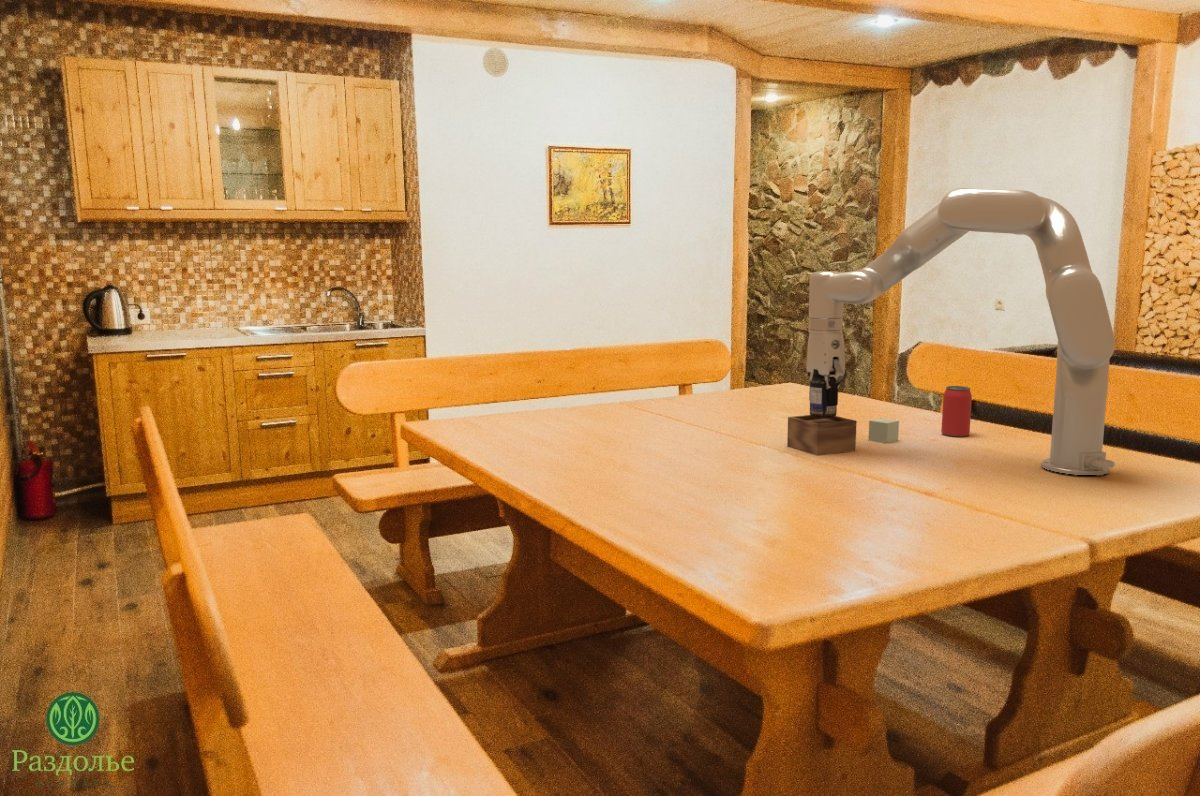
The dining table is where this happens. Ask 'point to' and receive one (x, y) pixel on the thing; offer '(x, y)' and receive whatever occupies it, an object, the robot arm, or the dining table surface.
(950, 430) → the beer can
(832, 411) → the pill bottle
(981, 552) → the dining table surface
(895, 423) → the sage cube
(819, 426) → the walnut open box
